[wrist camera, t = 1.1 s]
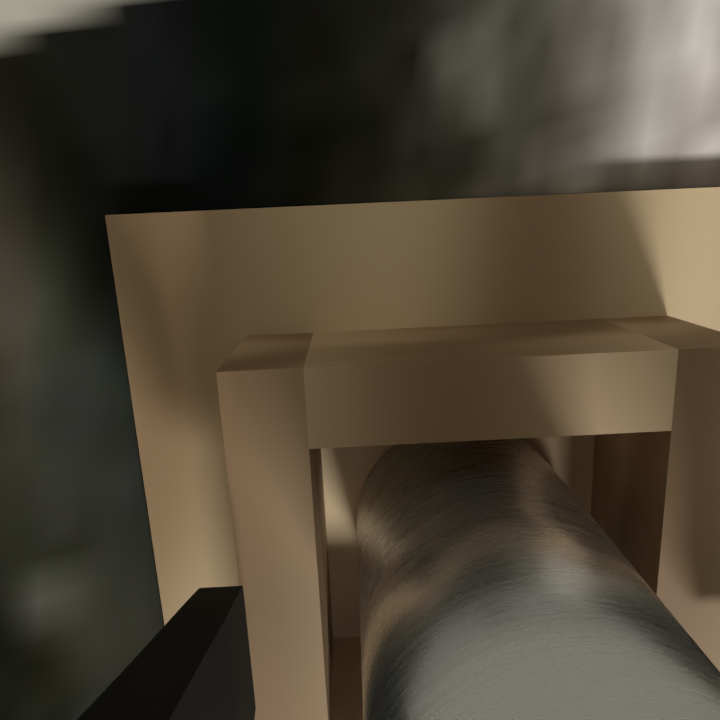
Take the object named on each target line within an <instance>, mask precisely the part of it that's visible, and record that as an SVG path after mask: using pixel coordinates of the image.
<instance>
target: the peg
mask: <svg viewBox="0 0 720 720" xmlns="http://www.w3.org/2000/svg"><path fill="white" fill-rule="evenodd" d="M357 551H358V581H359V611H360V641H361V670H362V700H363V720H720V672H719V670H718V669H717V668H716V667H715V666H714V664H713V663H712V662H711V661H710V659H709V658H708V657H707V656H706V655H705V653H704V652H703V651H702V650H701V648H700V647H699V646H698V645H697V644H696V642H695V641H694V640H693V639H692V638H691V636H690V635H689V634H688V633H687V631H686V630H685V629H684V628H683V627H682V625H681V624H680V623H679V622H678V621H677V619H676V618H675V617H674V616H673V614H672V613H671V612H670V611H669V610H668V608H667V607H666V606H665V605H664V603H663V602H662V601H661V600H660V599H659V597H658V596H657V595H656V594H655V593H654V591H653V590H652V589H651V588H650V586H649V585H648V584H647V583H646V582H645V580H644V579H643V578H642V577H641V576H640V574H639V573H638V572H637V571H636V569H635V568H634V567H633V566H632V565H631V563H630V562H629V561H628V560H627V558H626V557H625V556H624V555H623V554H622V552H621V551H620V550H619V549H618V548H617V546H616V545H615V544H614V543H613V541H612V540H611V539H610V538H609V537H608V535H607V534H606V533H605V532H604V531H603V529H602V528H601V527H600V526H599V524H598V523H597V522H596V521H595V520H594V518H593V517H592V516H591V515H590V513H589V512H588V511H587V510H586V509H585V507H584V506H583V505H582V504H581V503H580V501H579V500H578V499H577V498H576V496H575V495H574V494H573V493H572V492H571V490H570V489H569V488H568V487H567V486H566V484H565V483H564V482H563V481H562V479H561V478H560V477H559V476H558V475H557V473H556V472H555V471H554V470H553V468H552V467H551V466H550V465H549V464H548V462H547V461H546V460H545V459H544V458H543V456H542V455H541V454H540V453H539V452H538V451H537V450H536V449H535V448H534V447H533V446H532V445H531V444H530V443H529V442H527V441H526V440H525V439H524V438H519V439H499V440H479V441H459V442H439V443H420V444H400V445H393V446H391V447H390V448H389V449H388V450H387V451H386V452H385V453H384V454H383V455H382V456H381V457H380V458H379V459H378V461H377V462H376V463H375V464H374V466H373V467H372V469H371V471H370V472H369V474H368V475H367V478H366V480H365V482H364V484H363V486H362V489H361V492H360V496H359V500H358V506H357Z"/></svg>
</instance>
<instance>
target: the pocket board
mask: <svg viewBox="0 0 720 720" xmlns="http://www.w3.org/2000/svg"><path fill="white" fill-rule="evenodd" d="M105 219H106V226H107V233H108V240H109V247H110V254H111V261H112V268H113V274H114V281H115V288H116V295H117V302H118V309H119V316H120V322H121V329H122V336H123V343H124V350H125V357H126V364H127V371H128V377H129V384H130V391H131V398H132V405H133V412H134V419H135V425H136V432H137V439H138V446H139V453H140V460H141V467H142V474H143V480H144V487H145V494H146V501H147V508H148V515H149V522H150V528H151V535H152V542H153V549H154V556H155V563H156V570H157V576H158V583H159V590H160V597H161V604H162V611H163V618H164V625H166V623H167V622H168V621H169V620H170V619H171V618H172V617H173V616H174V615H175V613H176V612H177V611H178V610H179V609H180V608H181V607H182V606H183V605H184V604H185V603H186V601H187V600H188V599H189V598H190V597H191V596H192V595H193V594H194V593H195V592H196V591H197V590H198V589H199V588H208V587H226V586H243V592H244V601H245V610H246V620H247V629H248V639H249V648H250V657H251V667H252V676H253V686H254V695H255V705H256V710H255V719H254V720H363V700H362V670H361V641H360V611H359V581H358V551H357V506H358V500H359V496H360V492H361V489H362V486H363V484H364V482H365V480H366V478H367V475H368V474H369V472H370V471H371V469H372V467H373V466H374V464H375V463H376V462H377V461H378V459H379V458H380V457H381V456H382V455H383V454H384V453H385V452H386V451H387V450H388V449H389V448H390V447H391V446H393V445H400V444H420V443H439V442H459V441H479V440H499V439H519V438H524V439H525V440H526V441H527V442H529V443H530V444H531V445H532V446H533V447H534V448H535V449H536V450H537V451H538V452H539V453H540V454H541V455H542V456H543V458H544V459H545V460H546V461H547V462H548V464H549V465H550V466H551V467H552V468H553V470H554V471H555V472H556V473H557V475H558V476H559V477H560V478H561V479H562V481H563V482H564V483H565V484H566V486H567V487H568V488H569V489H570V490H571V492H572V493H573V494H574V495H575V496H576V498H577V499H578V500H579V501H580V503H581V504H582V505H583V506H584V507H585V509H586V510H587V511H588V512H589V513H590V515H591V516H592V517H593V518H594V520H595V521H596V522H597V523H598V524H599V526H600V527H601V528H602V529H603V531H604V532H605V533H606V534H607V535H608V537H609V538H610V539H611V540H612V541H613V543H614V544H615V545H616V546H617V548H618V549H619V550H620V551H621V552H622V554H623V555H624V556H625V557H626V558H627V560H628V561H629V562H630V563H631V565H632V566H633V567H634V568H635V569H636V571H637V572H638V573H639V574H640V576H641V577H642V578H643V579H644V580H645V582H646V583H647V584H648V585H649V586H650V588H651V589H652V590H653V591H654V593H655V594H656V595H657V596H658V597H659V599H660V600H661V601H662V602H663V603H664V605H665V606H666V607H667V608H668V610H669V611H670V612H671V613H672V614H673V616H674V617H675V618H676V619H677V621H678V622H679V623H680V624H681V625H682V627H683V628H684V629H685V630H686V631H687V633H688V634H689V635H690V636H691V638H692V639H693V640H694V641H695V642H696V644H697V645H698V646H699V647H700V648H701V650H702V651H703V652H704V653H705V655H706V656H707V657H708V658H709V659H710V661H711V662H712V663H713V664H714V666H715V667H716V668H717V669H718V670H719V672H720V187H709V188H687V189H665V190H643V191H621V192H599V193H577V194H555V195H533V196H512V197H490V198H468V199H446V200H424V201H402V202H380V203H358V204H336V205H315V206H293V207H271V208H249V209H227V210H205V211H183V212H161V213H139V214H117V215H105Z"/></svg>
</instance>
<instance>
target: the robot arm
mask: <svg viewBox="0 0 720 720" xmlns="http://www.w3.org/2000/svg"><path fill="white" fill-rule="evenodd" d="M255 710H256V705H255V695H254V686H253V676H252V667H251V657H250V648H249V639H248V629H247V620H246V610H245V601H244V592H243V586H226V587H208V588H199V589H198V590H197V591H196V592H195V593H194V594H193V595H192V596H191V597H190V598H189V599H188V600H187V601H186V603H185V604H184V605H183V606H182V607H181V608H180V609H179V610H178V611H177V612H176V613H175V615H174V616H173V617H172V618H171V619H170V620H169V621H168V622H167V623H166V625H165V626H164V627H163V628H162V629H161V630H160V631H159V632H158V633H157V635H156V636H155V637H154V638H153V639H152V640H151V641H150V642H149V643H148V644H147V646H146V647H145V648H144V649H143V650H142V651H141V652H140V653H139V654H138V655H137V657H136V658H135V659H134V660H133V661H132V662H131V663H130V664H129V665H128V666H127V667H126V668H125V669H124V671H123V672H122V673H121V674H120V675H119V676H118V677H117V678H116V679H115V680H114V681H113V682H112V683H111V684H110V685H109V686H108V687H107V689H106V690H105V691H104V692H103V693H102V694H101V695H100V696H99V697H98V698H97V699H96V700H95V701H94V702H93V703H92V704H91V705H90V707H89V708H88V709H87V710H86V711H85V712H84V713H83V714H82V715H81V716H80V717H79V718H78V719H77V720H254V719H255Z"/></svg>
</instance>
